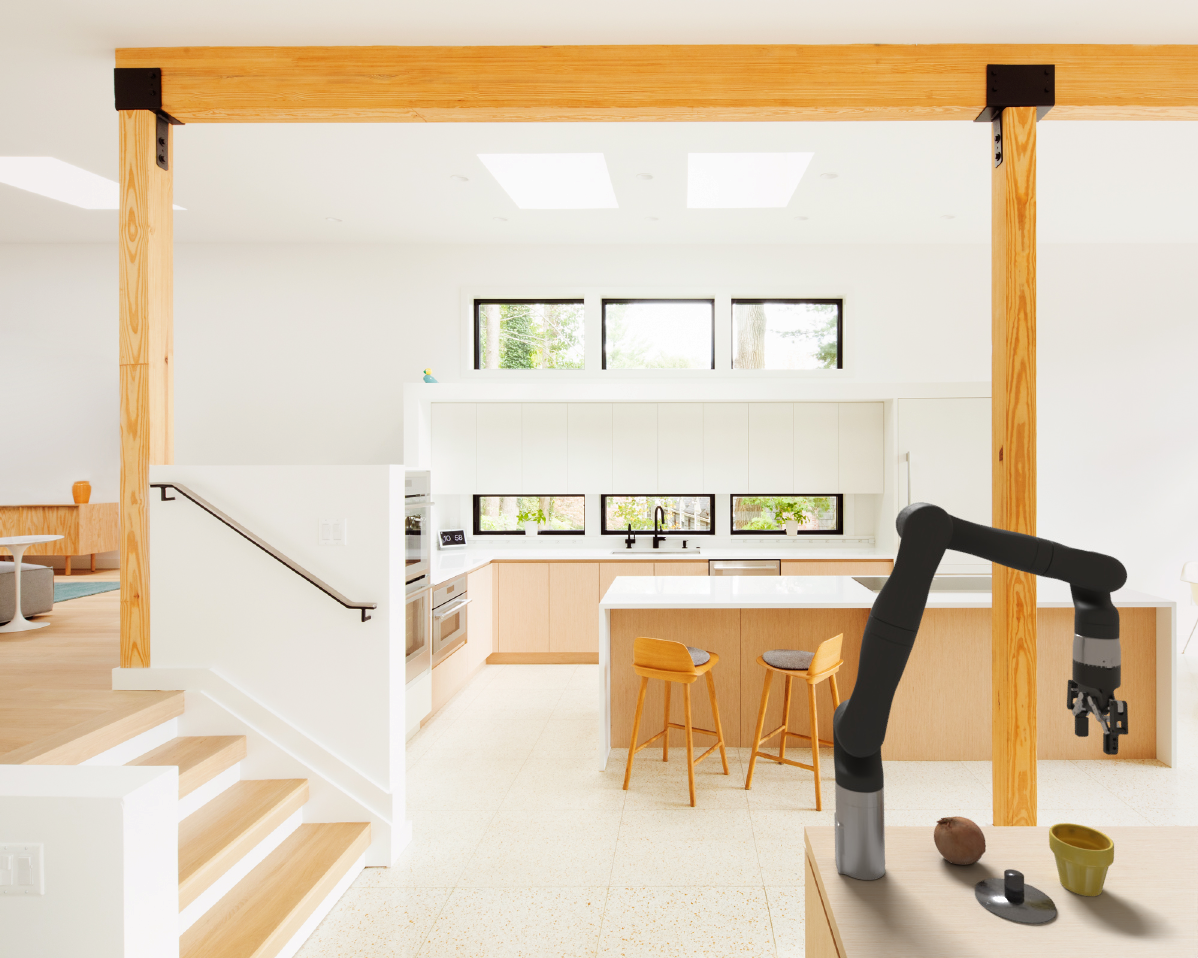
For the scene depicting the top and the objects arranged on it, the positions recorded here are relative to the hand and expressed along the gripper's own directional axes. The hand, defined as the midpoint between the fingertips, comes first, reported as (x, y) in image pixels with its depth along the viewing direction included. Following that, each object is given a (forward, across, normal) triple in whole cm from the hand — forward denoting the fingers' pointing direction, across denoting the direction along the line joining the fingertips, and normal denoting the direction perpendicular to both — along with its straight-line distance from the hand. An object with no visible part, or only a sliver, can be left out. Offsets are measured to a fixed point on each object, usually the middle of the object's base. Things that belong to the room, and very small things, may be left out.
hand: (1095, 744), depth 137 cm
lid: (+28, +4, -17) cm, 33 cm away
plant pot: (+28, -1, -2) cm, 28 cm away
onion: (+28, -10, -21) cm, 36 cm away
